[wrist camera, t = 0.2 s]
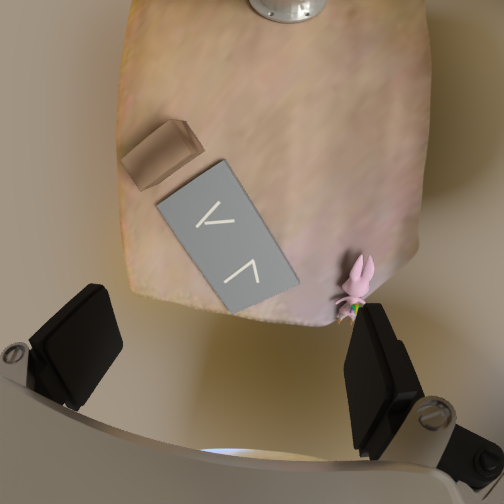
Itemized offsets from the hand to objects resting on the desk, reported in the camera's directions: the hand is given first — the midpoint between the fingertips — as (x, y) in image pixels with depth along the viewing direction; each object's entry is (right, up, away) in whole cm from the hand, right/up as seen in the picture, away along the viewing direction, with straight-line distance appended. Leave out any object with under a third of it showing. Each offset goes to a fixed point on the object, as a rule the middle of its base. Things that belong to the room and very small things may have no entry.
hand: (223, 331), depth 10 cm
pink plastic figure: (+19, -3, +39) cm, 44 cm away
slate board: (-3, +5, +39) cm, 39 cm away
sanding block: (-12, +19, +34) cm, 41 cm away
